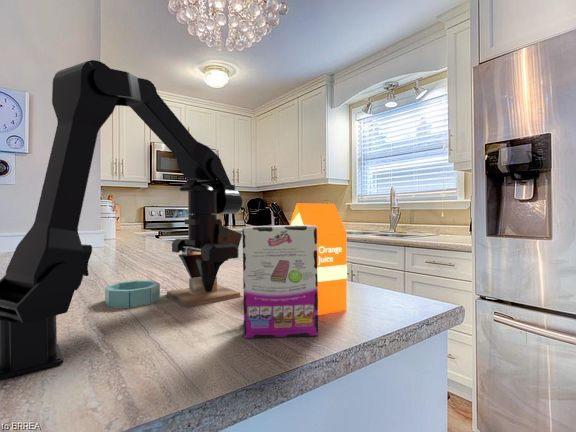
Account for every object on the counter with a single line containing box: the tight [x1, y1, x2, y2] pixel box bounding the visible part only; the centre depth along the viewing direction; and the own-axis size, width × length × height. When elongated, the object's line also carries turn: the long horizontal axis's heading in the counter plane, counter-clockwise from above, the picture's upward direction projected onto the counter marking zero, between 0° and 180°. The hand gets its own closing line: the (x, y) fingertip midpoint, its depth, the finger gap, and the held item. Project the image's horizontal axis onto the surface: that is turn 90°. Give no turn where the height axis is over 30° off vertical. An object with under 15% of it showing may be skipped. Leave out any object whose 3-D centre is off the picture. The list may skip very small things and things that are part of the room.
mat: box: [163, 294, 244, 309], centre depth 68 cm, size 12×12×1 cm
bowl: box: [104, 279, 161, 309], centre depth 65 cm, size 9×9×4 cm
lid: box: [166, 276, 241, 307], centre depth 68 cm, size 11×11×4 cm
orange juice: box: [289, 202, 348, 316], centre depth 63 cm, size 8×9×20 cm
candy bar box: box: [242, 224, 319, 339], centre depth 51 cm, size 11×5×16 cm, turn 94°
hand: (203, 289), depth 68 cm, fingers open, 5 cm apart
